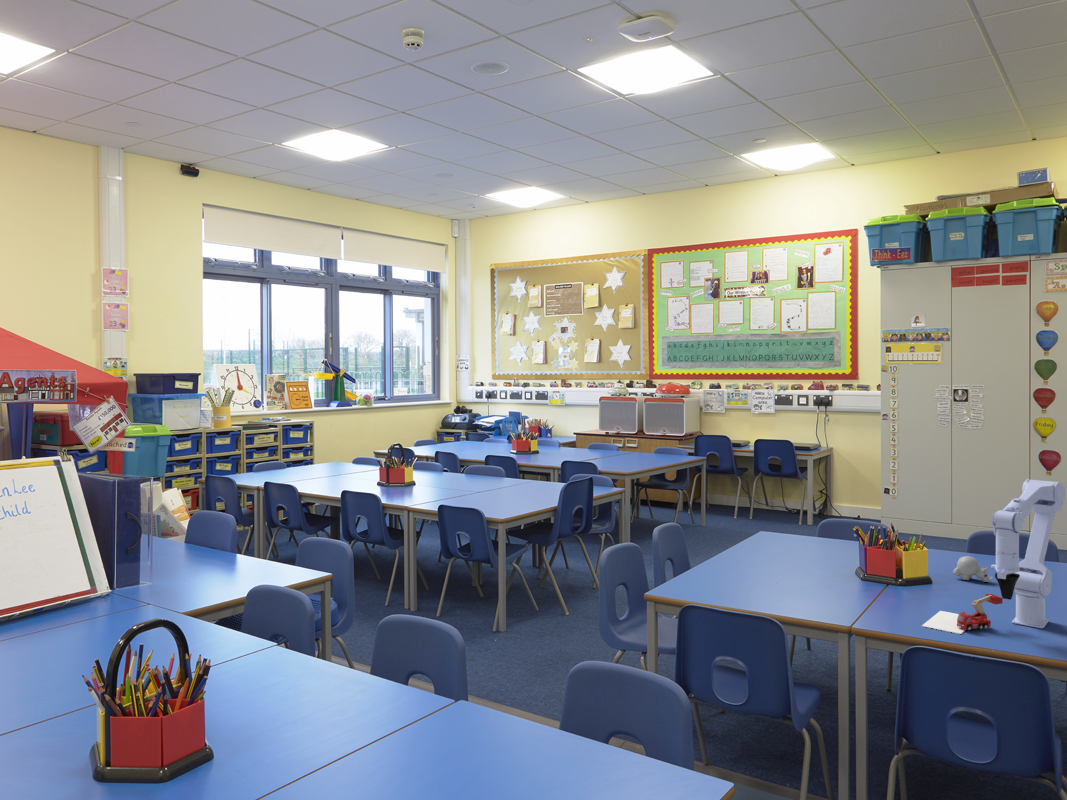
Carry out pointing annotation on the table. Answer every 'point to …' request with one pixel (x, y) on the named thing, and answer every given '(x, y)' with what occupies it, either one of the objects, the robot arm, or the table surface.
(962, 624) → the toy fire truck
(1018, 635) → the table surface
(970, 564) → the chubby cartoon animal
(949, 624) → the mat
